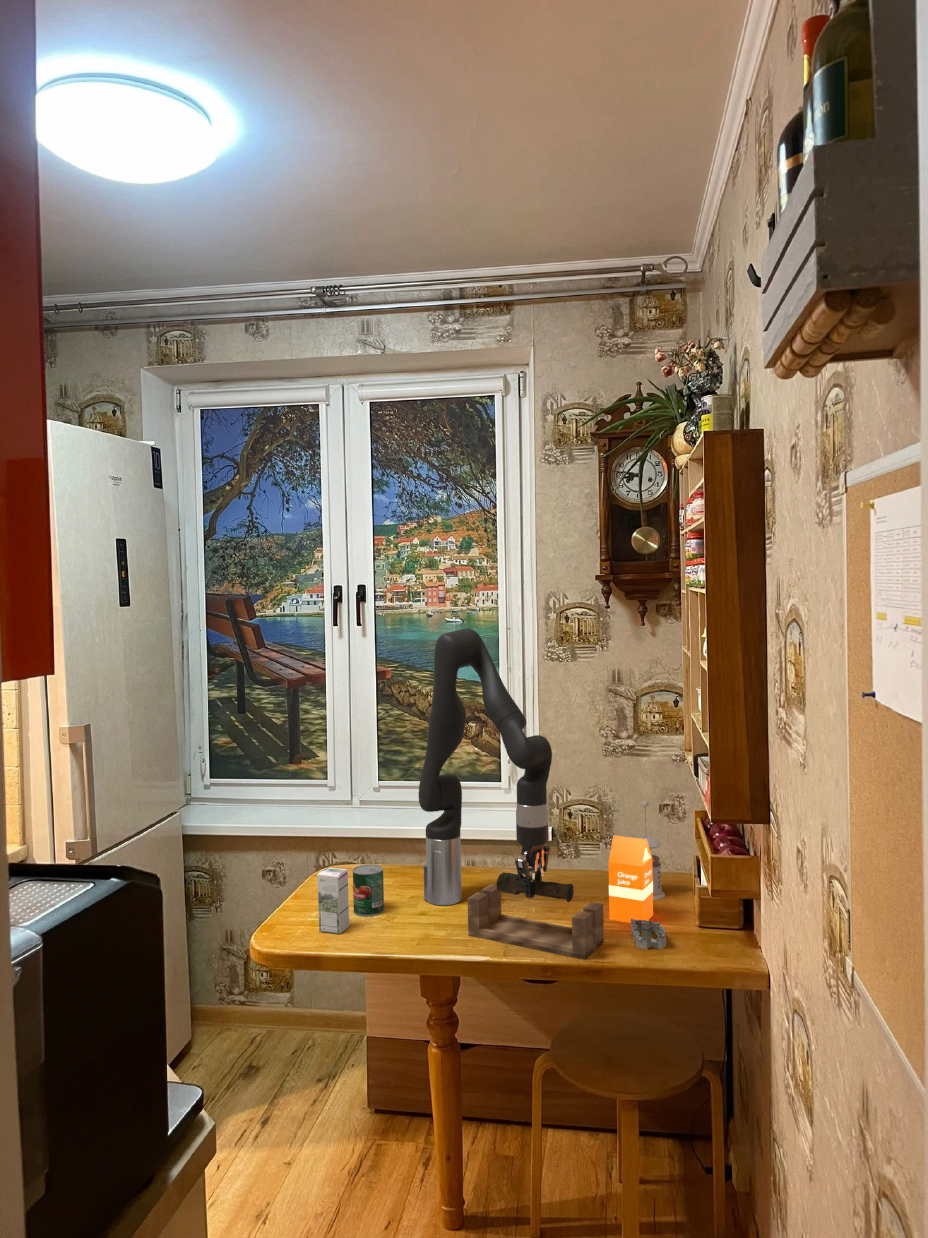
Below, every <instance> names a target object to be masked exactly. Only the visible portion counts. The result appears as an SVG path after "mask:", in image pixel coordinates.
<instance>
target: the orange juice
mask: <svg viewBox="0 0 928 1238" xmlns="http://www.w3.org/2000/svg"><path fill="white" fill-rule="evenodd" d="M610 847H611V848H610V852H609V858H608V902H609V903H608V905H609V906H608V908H609V910H608V911H609V912H608V913H609V920H611V921H617V922H624V923H628V924H629V923H630V924H631V918H632V919H635V920H639V919H640V920H646V921H649V920H651V918H652V917H653V916H654V900H653V875H652V857H651V855H652V853H651V851H650V850H651V849H649V846H648V843H647V840H646V839H638V837H629V836H622V835H621V836H620V835H613V837H612V842H611V846H610Z"/></svg>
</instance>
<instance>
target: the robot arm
mask: <svg viewBox="0 0 928 1238" xmlns="http://www.w3.org/2000/svg"><path fill="white" fill-rule="evenodd" d="M433 663H434V664H433V687H432V688H433V689H432V690H433V691H432V700H431V701H432V702H431V708H430V713H429V721H428V732H427V741H426V750H425V756H424V761H423V766H422V769H421V770H422V771H421V775H420V780H419V786H418V802H419V805H420V808H421V809H422V811H424V812H428V813H435V812H442V811H443V812H442V813H441V815H439V817H437V818H436V819H434V820H432V821H430V822H429V823H427V825H426V827H425V850H426V851H425V853H426V855H425V856H426V861H425V862H426V863H424V864H423V866H422V867H423V900H424V901H427V902H428V903H430V904H432V905H435V906H452V905H455V904H459V902H462V899H463V891H462V889H463V888H462V884H463V882H462V879H463V878H462V847H461V846H462V844H461V842H462V841H461V839H462V838H461V837H462V836H461V829H462V828H461V827H462V808H463V807H462V806H463V790H462V789H463V788H462V783H461V780H460V778H459V777H458V776H457V775H456V774H453V773H451V774H450V773H449V774H442V775H441V771H442V769H443V767H444V765H445V764H446V762H447V761H448V760H449V758H450V757H451V756H453V754H454V753H455V751H456V750H457V748H458V747H459V746H460V744H461V742H462V741H463V739H464V734H465V731H466V730H465V729H466V722H467V710H466V708H465V705H464V703H463V702H462V699H461V698H460V696H459V693H458V691H457V677H458V673H459V670H460V669H461V668H465V667H468V666H470V667H472V669H473V670H474V671H475V672H476V674H477V676H478V677H479V680H480V683H481V689H482V691H481V692H482V700H483V702H482V703H483V705H484V709H485V711H486V713H487V715H488V717H489V719H490V720H491V722H492V723H493V725H494V727H496V729H497V731H498V732H499V734H500V737H501V740H502V743H503V745H504V749H505V751H506V754H507V756H508V758H509V760H510V761H511V762H512V764H513V765H515V766H516V767H517V768H518V769H522V770H525V771H524V774H523V775H522V776H521V777H519V779H518V780H517V781H516V811H515V824H516V825H515V827H516V828H515V829H516V830H515V831H516V832H515V833H516V842H517V843H518V844H520V845H521V852H520V853H521V854H520V855H521V857H520V858H515V860H514V863H515V866H516V871H517V872H516V873H517V874H518V876H519V880H520V881H524V882H525V893H524V896H525V898H529V899H533V898H535V896H536V895H535V884H534V880H537V881H543V877H544V873H546V872H547V870H548V864H549V856H550V850H551V849H550V848H551V847H550V846H548V845H546V844H548V842H549V841H550V840H549V839H550V837H549V830H550V829H549V809H548V801H547V800H548V794H547V793H548V792H547V790H548V789H547V786H548V785H547V784H548V780H549V776H550V770H551V765H552V761H553V760H552V759H553V752H552V746H551V744H550V742H549V740H548V739H547V737H545V736H543V735H532V736H526V734H525V732H524V729H525V727H526V725H527V719H526V716H525V715H524V713H523V712H522V711H521V709H520V708H519V706H518V704H517V703H516V702H515V700H514V699H513V698H512V696H511V694H510V693H509V692H508V690H507V688H506V686H505V684H504V682H503V680H502V678H501V676H500V674H499V671H498V670H497V668H496V665H495V663H494V661H493V658H492V657H491V655H490V652H489V650H488V649H487V646H486V644H485V642H484V640H483V639H482V637H481V635H480V634H479V633H478V632H477V631H476V630H475V629H472V628H462V629H457V630H454V631H453V630H452V631H449V632H445V633H443V634H440V635H439V637H437V639H436V643H435V645H434V661H433Z"/></svg>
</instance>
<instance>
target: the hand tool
mask: <svg viewBox="0 0 928 1238" xmlns="http://www.w3.org/2000/svg"><path fill="white" fill-rule="evenodd" d="M534 884H535V896H539V897H546V898H553V899H558V900H565V901H566V902H567V903H568V904H569V903H570V902H571V901H572V900H573V897H574V890H575V888H574V885H573V884H572V883H560V882H556V881H543V880H542V881H537V880H534ZM495 885H497V889H498V890H500V891H501V892H504V893H508V894H510V895H511V894H512V895H515V896H516V895H520V894H525V882H524V881H520V880H519V876H518V873H511V872H502V873H500V874H499V875H498V877H497V879H496V884H495Z"/></svg>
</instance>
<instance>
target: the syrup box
mask: <svg viewBox="0 0 928 1238" xmlns="http://www.w3.org/2000/svg"><path fill="white" fill-rule="evenodd" d="M348 871H349V869H346V868H339V867H338V868H337V867H336V868H335V867H326V868H324V869H322V870H320V871H319V872H318V873H317V875H316V877H317V901H318V903H317V905H318V907H317V908H318V930H319V932H320V933H327V934H336V935H337V934H338V935H340V934H342V933H343V932H345V930H347V929H348V928H349V927H350V907H349V906H350V903H349V872H348Z"/></svg>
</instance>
